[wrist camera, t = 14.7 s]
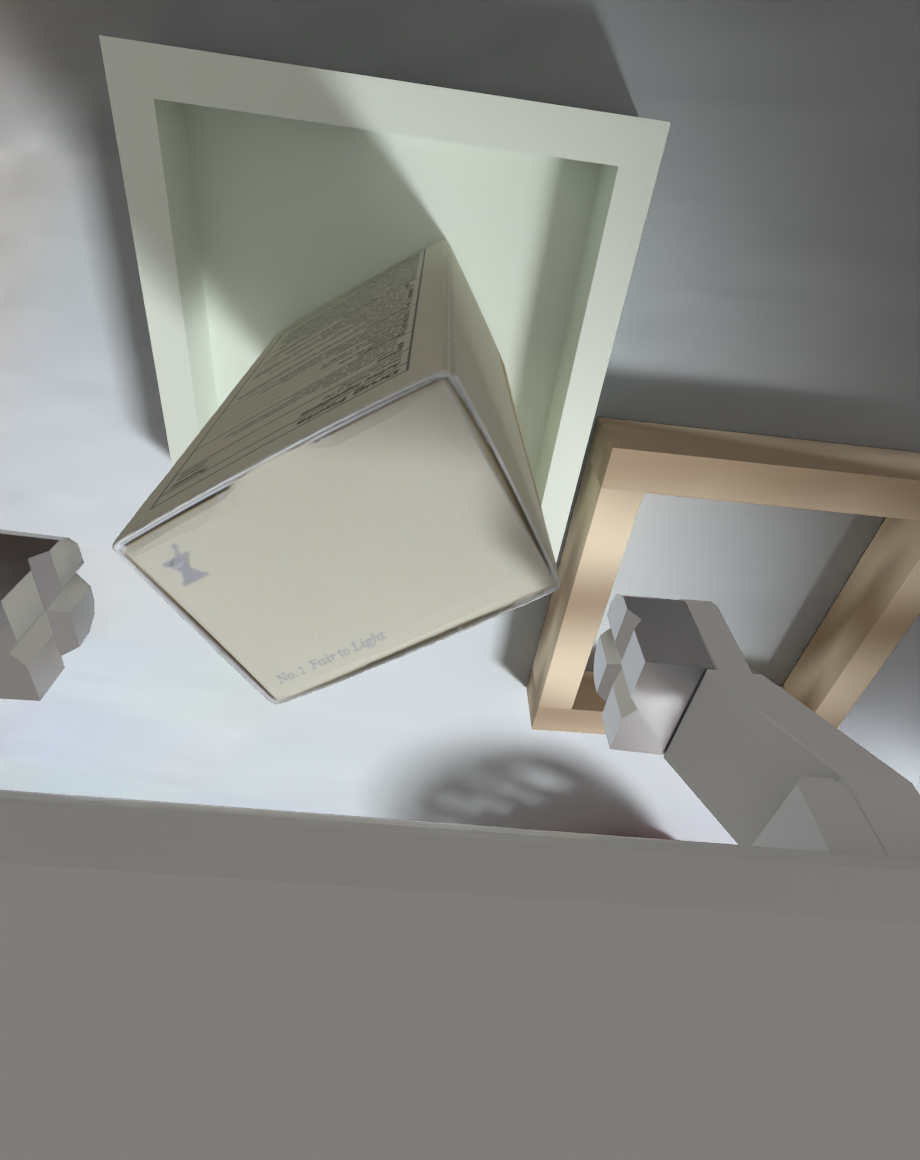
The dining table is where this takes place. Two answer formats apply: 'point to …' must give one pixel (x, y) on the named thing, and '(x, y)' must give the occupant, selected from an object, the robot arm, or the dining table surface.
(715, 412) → the dining table surface
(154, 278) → the tray
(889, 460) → the wooden frame
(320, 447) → the skincare box
